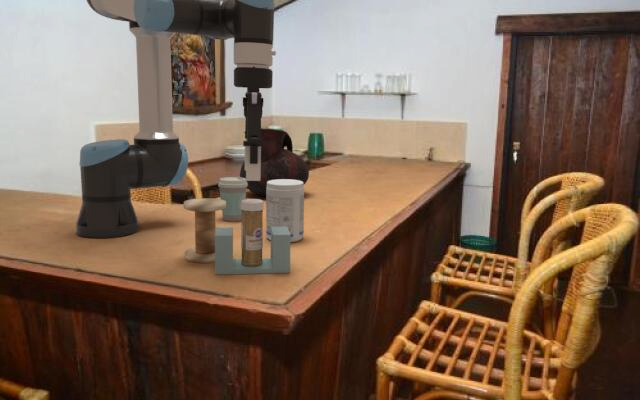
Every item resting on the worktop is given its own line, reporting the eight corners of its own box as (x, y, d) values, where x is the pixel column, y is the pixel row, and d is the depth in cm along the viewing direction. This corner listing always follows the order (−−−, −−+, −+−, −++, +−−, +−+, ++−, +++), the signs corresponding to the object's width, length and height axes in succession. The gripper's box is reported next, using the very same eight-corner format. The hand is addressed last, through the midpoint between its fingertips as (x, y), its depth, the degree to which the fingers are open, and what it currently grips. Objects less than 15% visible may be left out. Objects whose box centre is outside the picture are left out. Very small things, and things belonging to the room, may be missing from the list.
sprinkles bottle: (254, 268, 108) (254, 203, 106) (236, 264, 111) (236, 200, 108) (267, 262, 112) (267, 199, 110) (249, 259, 114) (250, 197, 112)
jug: (320, 194, 202) (322, 128, 197) (281, 204, 181) (282, 130, 176) (268, 187, 215) (268, 125, 210) (225, 196, 194) (225, 126, 189)
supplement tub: (285, 232, 143) (286, 177, 140) (311, 239, 136) (312, 182, 134) (258, 238, 136) (258, 181, 133) (283, 245, 130) (284, 185, 127)
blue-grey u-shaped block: (215, 274, 107) (214, 235, 105) (216, 264, 114) (216, 227, 112) (289, 272, 109) (290, 234, 108) (286, 262, 116) (287, 226, 115)
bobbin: (183, 263, 114) (181, 206, 111) (186, 251, 122) (185, 198, 120) (225, 262, 115) (225, 205, 113) (226, 250, 124) (226, 198, 121)
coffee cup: (242, 223, 151) (242, 181, 149) (213, 221, 153) (213, 180, 151) (251, 217, 160) (251, 177, 158) (224, 215, 161) (224, 176, 159)
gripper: (277, 65, 93) (275, 185, 97) (268, 70, 117) (266, 166, 121) (233, 63, 91) (233, 185, 95) (233, 69, 115) (233, 166, 120)
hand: (252, 175), depth 108 cm, fingers open, 13 cm apart
